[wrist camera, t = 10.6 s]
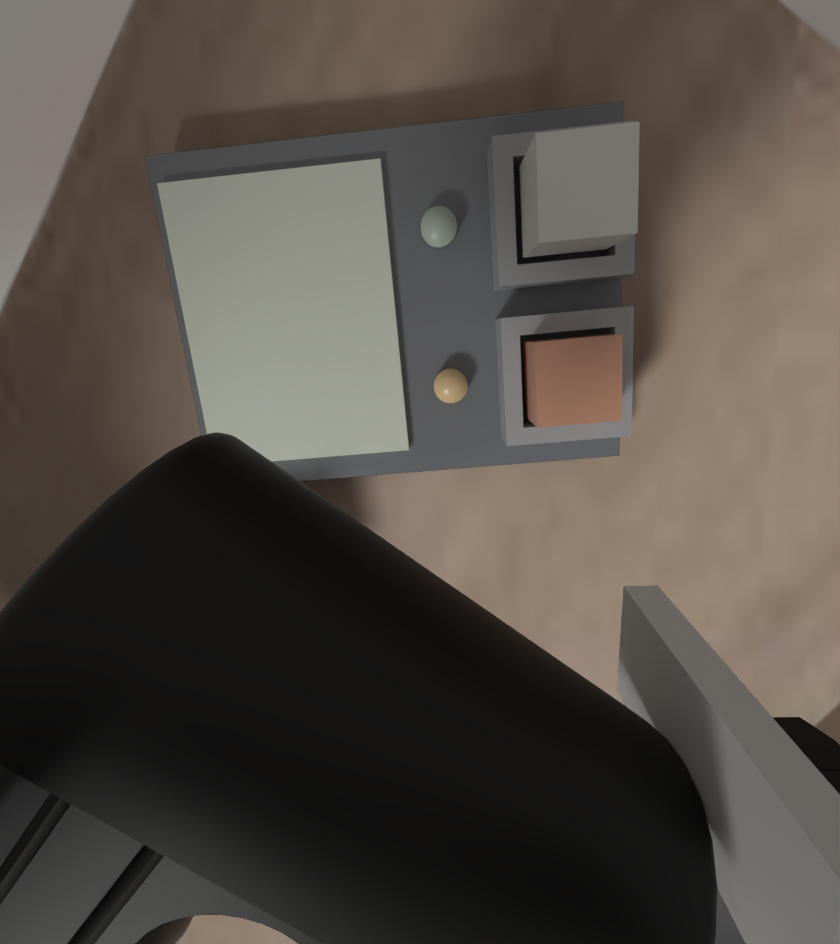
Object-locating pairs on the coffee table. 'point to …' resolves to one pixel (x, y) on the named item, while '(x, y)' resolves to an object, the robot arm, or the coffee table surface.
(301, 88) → the coffee table surface
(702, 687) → the robot arm
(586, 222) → the off-white switch
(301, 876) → the end cap
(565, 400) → the terracotta switch
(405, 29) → the coffee table surface
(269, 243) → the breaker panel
